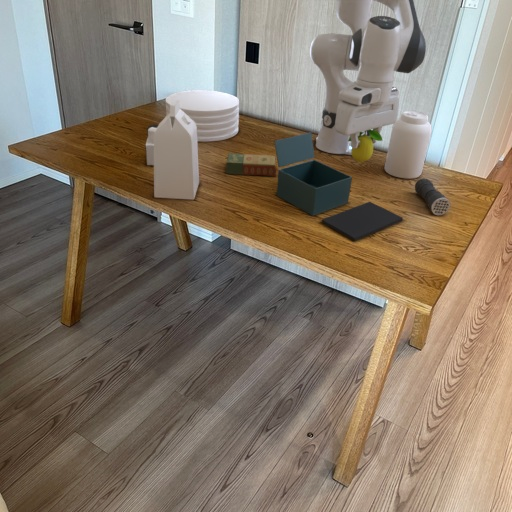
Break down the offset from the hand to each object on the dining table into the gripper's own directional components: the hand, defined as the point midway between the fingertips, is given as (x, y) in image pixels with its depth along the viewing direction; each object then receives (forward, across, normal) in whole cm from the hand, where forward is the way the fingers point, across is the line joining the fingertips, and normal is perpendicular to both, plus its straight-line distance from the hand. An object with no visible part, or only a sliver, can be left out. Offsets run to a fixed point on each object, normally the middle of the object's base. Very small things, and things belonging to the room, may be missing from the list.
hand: (363, 145), depth 129 cm
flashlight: (+21, -27, +8) cm, 35 cm away
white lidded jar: (+21, -40, -12) cm, 46 cm away
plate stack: (+21, -5, -83) cm, 86 cm away
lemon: (+5, 0, 0) cm, 5 cm away
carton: (+21, +4, -41) cm, 46 cm away
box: (+21, +2, -14) cm, 25 cm away
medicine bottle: (+21, +26, -63) cm, 71 cm away
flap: (+8, +2, -23) cm, 25 cm away
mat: (+21, -1, +4) cm, 21 cm away
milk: (+21, +32, -41) cm, 56 cm away
